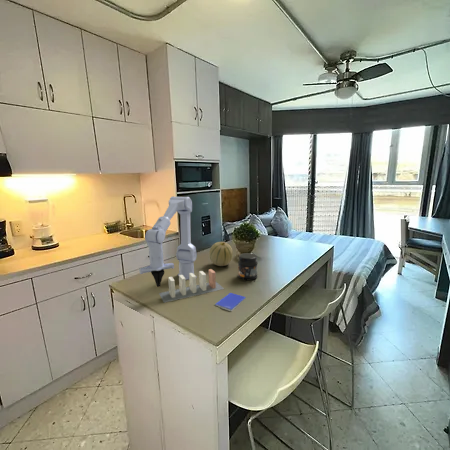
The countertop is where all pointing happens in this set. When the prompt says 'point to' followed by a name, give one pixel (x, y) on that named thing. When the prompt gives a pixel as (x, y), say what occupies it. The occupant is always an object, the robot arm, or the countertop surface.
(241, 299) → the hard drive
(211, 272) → the salmon orange end domino
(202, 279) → the domino
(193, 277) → the domino
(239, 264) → the supplement container
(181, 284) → the domino
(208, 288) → the domino mat
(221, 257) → the beige rounded lump
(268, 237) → the countertop surface
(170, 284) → the domino
